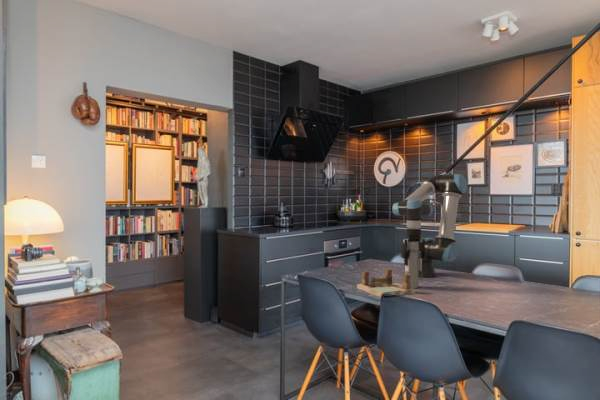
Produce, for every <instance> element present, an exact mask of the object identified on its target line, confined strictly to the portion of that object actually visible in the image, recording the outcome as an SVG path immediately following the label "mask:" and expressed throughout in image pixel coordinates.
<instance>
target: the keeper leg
mask: <svg viewBox="0 0 600 400" xmlns="http://www.w3.org/2000/svg"><path fill="white" fill-rule="evenodd" d="M392 282H393V276H392V277H390V276H386V277H385V276H384V277H374V276H369V283H370V285H369V286H370V287H375V286H377V285H391V284H392Z"/></svg>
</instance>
